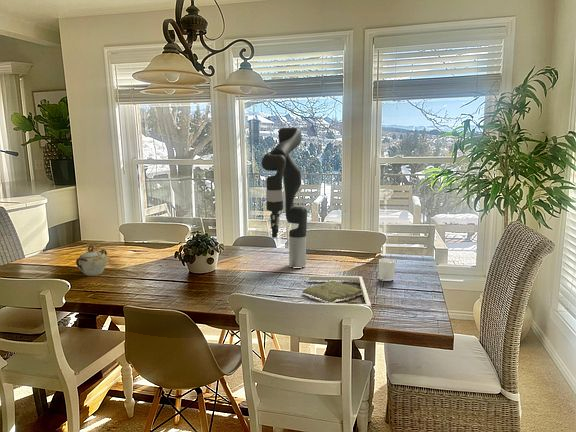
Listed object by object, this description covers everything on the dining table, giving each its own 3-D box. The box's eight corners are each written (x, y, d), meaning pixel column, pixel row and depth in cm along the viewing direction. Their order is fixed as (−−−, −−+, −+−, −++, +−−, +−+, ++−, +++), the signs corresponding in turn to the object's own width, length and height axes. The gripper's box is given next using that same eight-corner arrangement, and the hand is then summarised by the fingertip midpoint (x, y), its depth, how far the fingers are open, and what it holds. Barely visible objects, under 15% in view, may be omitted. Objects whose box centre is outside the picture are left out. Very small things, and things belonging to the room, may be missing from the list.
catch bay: (309, 281, 202) (309, 275, 202) (361, 282, 200) (361, 276, 200) (306, 311, 166) (306, 303, 165) (370, 312, 164) (371, 305, 163)
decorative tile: (302, 295, 184) (302, 288, 183) (333, 285, 197) (333, 278, 196) (332, 308, 170) (333, 299, 169) (363, 296, 183) (364, 288, 182)
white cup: (378, 282, 200) (379, 262, 199) (377, 277, 208) (378, 258, 206) (395, 282, 199) (396, 262, 198) (393, 277, 207) (394, 258, 205)
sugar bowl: (89, 280, 204) (87, 251, 202) (66, 277, 210) (64, 248, 207) (118, 269, 223) (116, 242, 220) (97, 266, 228) (94, 240, 225)
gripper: (267, 197, 192) (268, 231, 195) (264, 202, 178) (265, 238, 181) (283, 197, 191) (284, 231, 194) (282, 202, 177) (282, 238, 180)
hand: (275, 234), depth 188 cm, fingers open, 8 cm apart
